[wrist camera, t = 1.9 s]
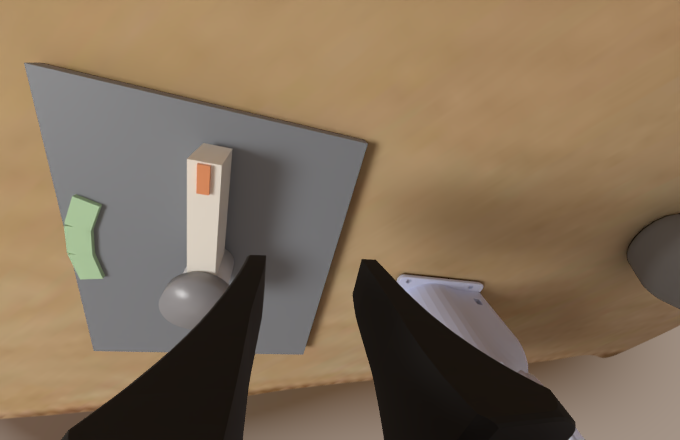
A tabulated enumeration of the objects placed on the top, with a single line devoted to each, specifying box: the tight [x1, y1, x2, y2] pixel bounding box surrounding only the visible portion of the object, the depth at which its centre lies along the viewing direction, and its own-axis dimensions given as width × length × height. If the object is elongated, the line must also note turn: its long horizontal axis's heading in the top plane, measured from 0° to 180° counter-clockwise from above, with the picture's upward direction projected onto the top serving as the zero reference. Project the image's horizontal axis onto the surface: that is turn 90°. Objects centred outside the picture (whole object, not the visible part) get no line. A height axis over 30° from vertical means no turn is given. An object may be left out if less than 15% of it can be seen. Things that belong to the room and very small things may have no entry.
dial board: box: [24, 63, 368, 354], centre depth 21 cm, size 18×22×1 cm
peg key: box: [159, 143, 234, 329], centre depth 17 cm, size 11×4×4 cm, turn 165°
